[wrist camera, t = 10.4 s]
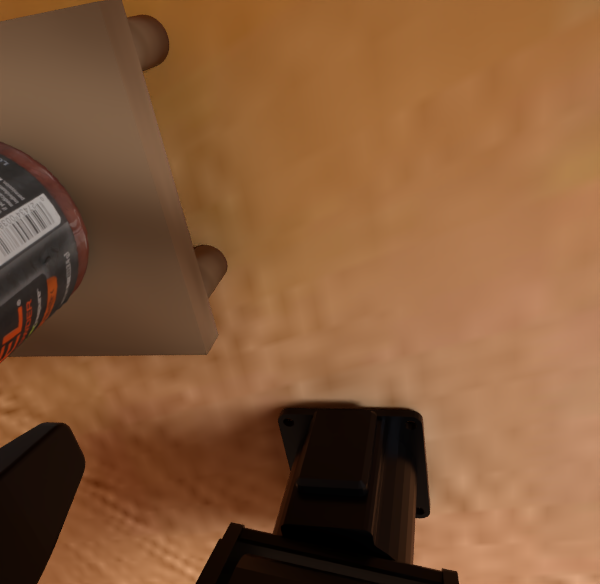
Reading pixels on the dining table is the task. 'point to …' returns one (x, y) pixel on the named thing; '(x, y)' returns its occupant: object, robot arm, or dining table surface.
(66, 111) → the footstool
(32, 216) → the supplement bottle
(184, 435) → the dining table surface
